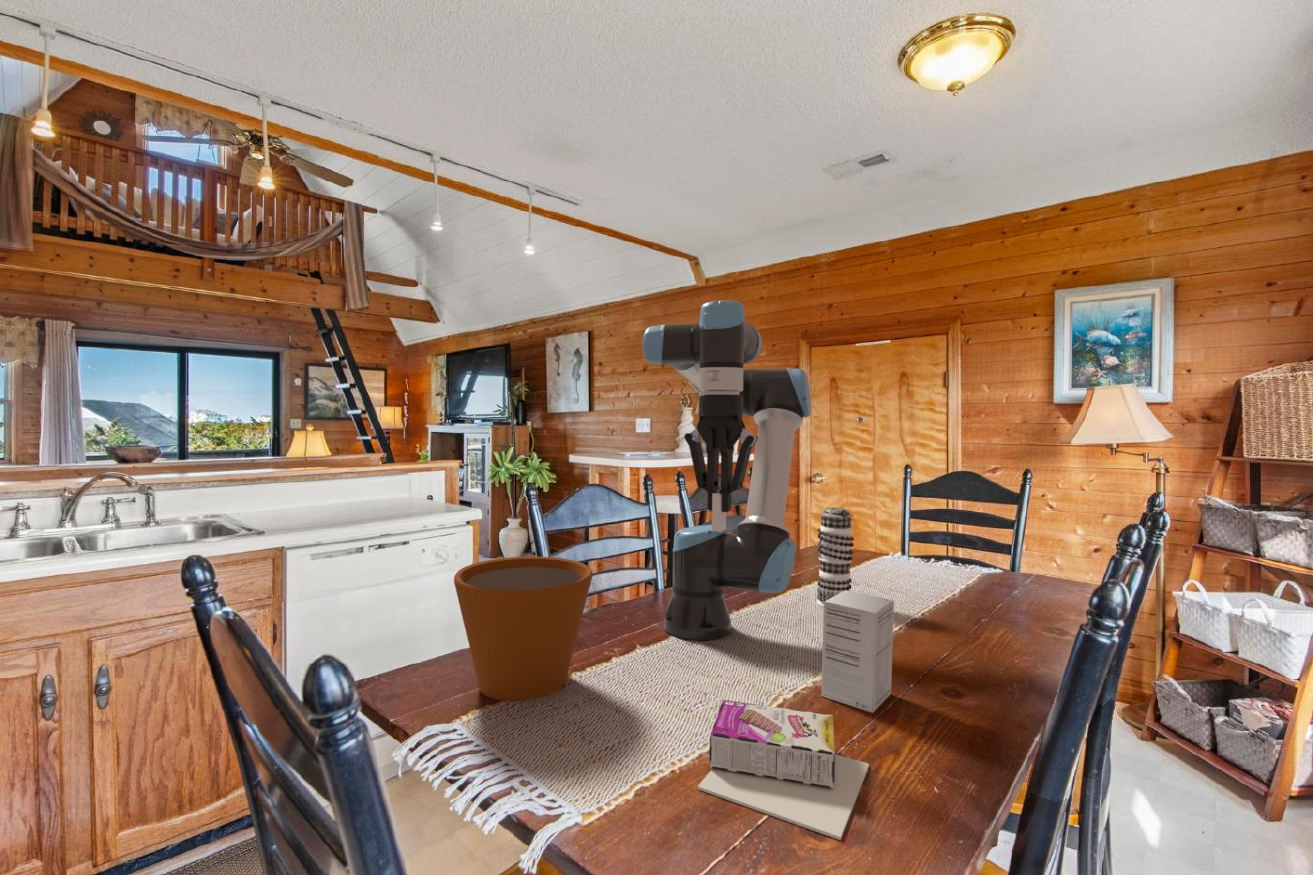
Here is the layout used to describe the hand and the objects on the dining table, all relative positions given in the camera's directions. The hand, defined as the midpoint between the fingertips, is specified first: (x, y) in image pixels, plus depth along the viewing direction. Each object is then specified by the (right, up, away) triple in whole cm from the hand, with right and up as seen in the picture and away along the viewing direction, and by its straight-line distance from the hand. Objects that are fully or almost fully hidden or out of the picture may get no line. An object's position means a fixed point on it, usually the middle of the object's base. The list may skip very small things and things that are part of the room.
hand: (719, 529), depth 104 cm
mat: (+6, -29, -24) cm, 38 cm away
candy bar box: (-3, -26, -18) cm, 32 cm away
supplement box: (+24, -29, 0) cm, 38 cm away
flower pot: (-35, -28, +3) cm, 45 cm away
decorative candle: (+35, -28, +53) cm, 69 cm away
